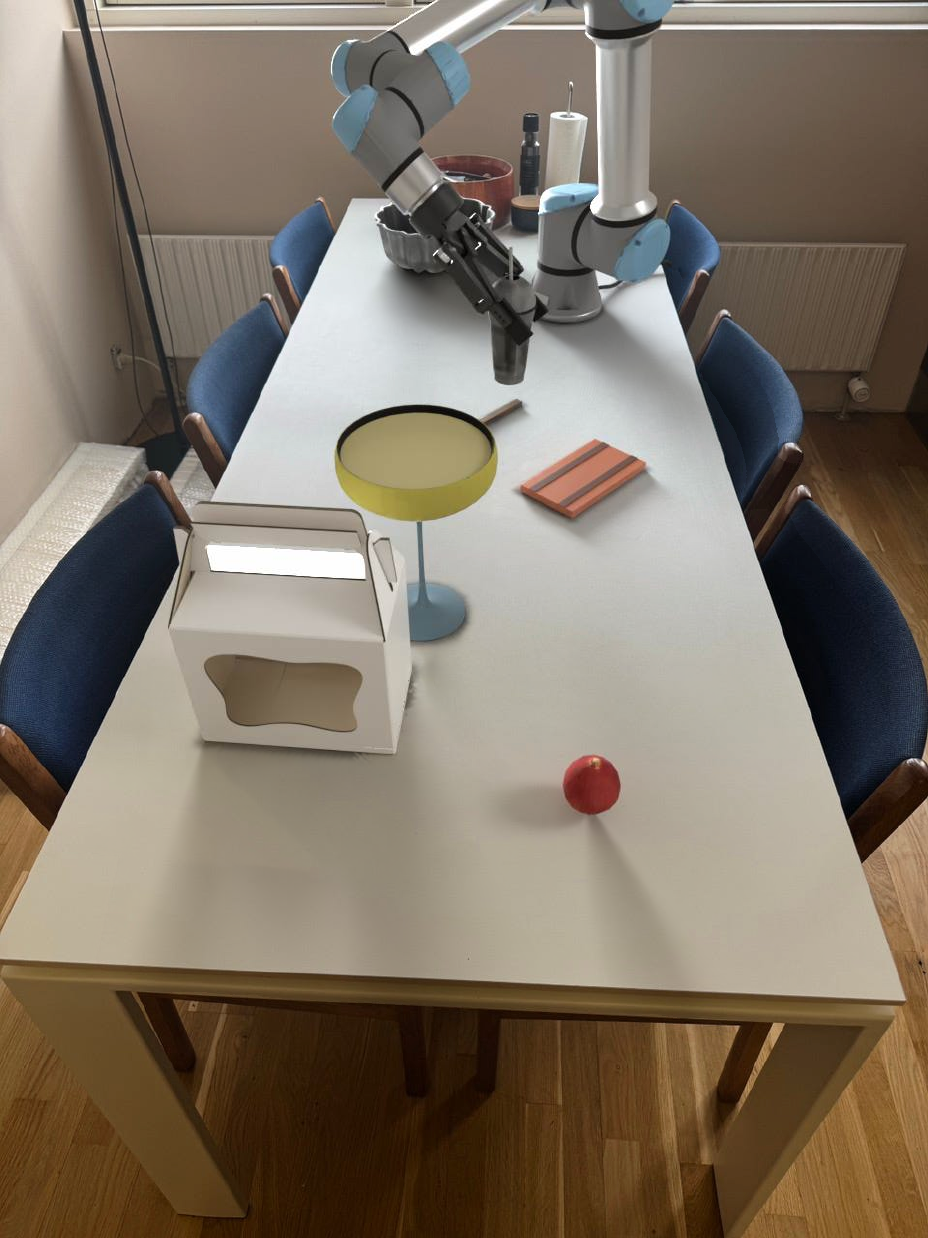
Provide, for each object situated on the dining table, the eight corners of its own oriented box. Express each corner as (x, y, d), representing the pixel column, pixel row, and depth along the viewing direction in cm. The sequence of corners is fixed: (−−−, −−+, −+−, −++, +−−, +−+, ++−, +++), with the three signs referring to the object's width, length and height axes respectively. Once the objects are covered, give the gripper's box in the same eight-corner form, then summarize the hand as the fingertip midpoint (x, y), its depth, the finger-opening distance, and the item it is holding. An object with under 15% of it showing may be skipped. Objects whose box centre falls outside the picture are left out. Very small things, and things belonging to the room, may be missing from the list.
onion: (556, 786, 96) (561, 737, 90) (609, 782, 96) (618, 733, 90) (565, 832, 91) (571, 784, 86) (621, 828, 92) (630, 780, 86)
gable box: (200, 741, 100) (137, 542, 81) (233, 657, 110) (184, 462, 91) (397, 756, 99) (380, 556, 80) (414, 669, 108) (402, 473, 89)
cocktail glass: (402, 552, 125) (392, 388, 108) (518, 595, 118) (526, 427, 101) (324, 630, 113) (299, 461, 96) (448, 682, 107) (444, 510, 90)
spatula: (507, 398, 156) (507, 394, 156) (531, 409, 153) (531, 405, 153) (420, 445, 145) (420, 441, 145) (444, 458, 142) (444, 453, 142)
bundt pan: (353, 258, 203) (349, 212, 196) (440, 229, 216) (439, 185, 209) (430, 293, 189) (429, 245, 182) (518, 260, 202) (520, 214, 195)
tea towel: (594, 445, 145) (595, 438, 144) (645, 468, 140) (646, 461, 139) (520, 491, 136) (520, 484, 135) (572, 518, 130) (572, 511, 130)
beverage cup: (538, 370, 139) (546, 238, 125) (525, 392, 134) (531, 257, 120) (493, 363, 140) (496, 232, 127) (478, 385, 135) (479, 250, 122)
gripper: (434, 193, 133) (534, 314, 140) (380, 241, 119) (494, 373, 126) (468, 158, 128) (570, 285, 135) (416, 204, 114) (533, 343, 121)
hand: (533, 327), depth 130 cm, fingers closed on beverage cup, 7 cm apart
